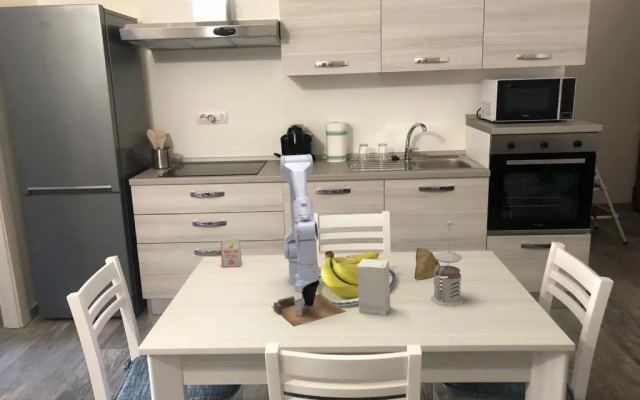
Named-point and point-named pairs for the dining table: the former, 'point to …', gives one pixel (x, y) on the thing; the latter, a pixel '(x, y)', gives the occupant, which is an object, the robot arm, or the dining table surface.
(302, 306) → the swing bar
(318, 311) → the lock board
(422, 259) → the rock
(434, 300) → the french press
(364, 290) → the skincare box
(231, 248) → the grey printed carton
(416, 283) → the dining table surface
